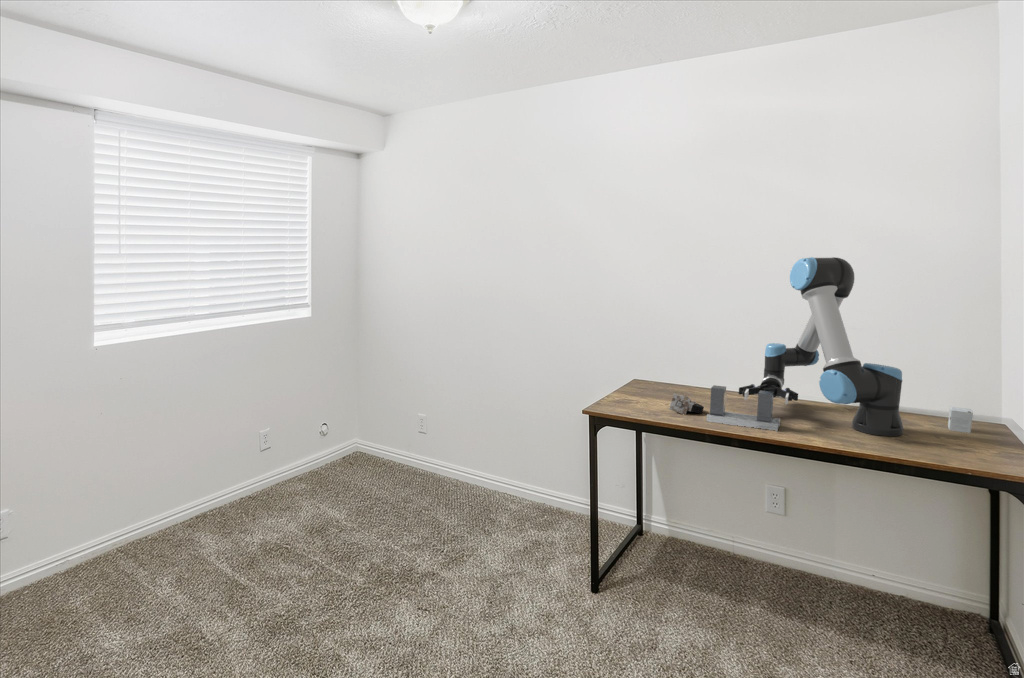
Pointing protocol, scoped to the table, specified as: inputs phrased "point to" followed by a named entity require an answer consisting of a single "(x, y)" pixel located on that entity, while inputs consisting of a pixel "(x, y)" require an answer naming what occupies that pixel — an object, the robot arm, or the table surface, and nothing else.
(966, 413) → the skincare box
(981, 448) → the table surface
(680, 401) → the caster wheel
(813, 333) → the robot arm
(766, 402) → the grey upright block
